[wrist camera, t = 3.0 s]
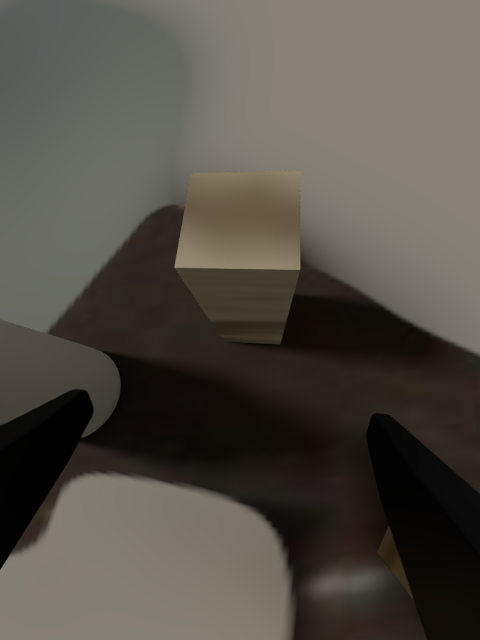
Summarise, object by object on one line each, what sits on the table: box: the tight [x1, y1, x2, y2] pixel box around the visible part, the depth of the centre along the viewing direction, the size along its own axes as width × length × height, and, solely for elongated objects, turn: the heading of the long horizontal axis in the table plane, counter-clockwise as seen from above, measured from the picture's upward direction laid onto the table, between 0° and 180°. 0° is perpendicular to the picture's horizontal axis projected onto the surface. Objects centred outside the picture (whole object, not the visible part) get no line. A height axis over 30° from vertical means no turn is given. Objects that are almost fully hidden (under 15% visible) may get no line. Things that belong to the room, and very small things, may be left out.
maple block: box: [175, 170, 300, 344], centre depth 17 cm, size 5×5×13 cm
